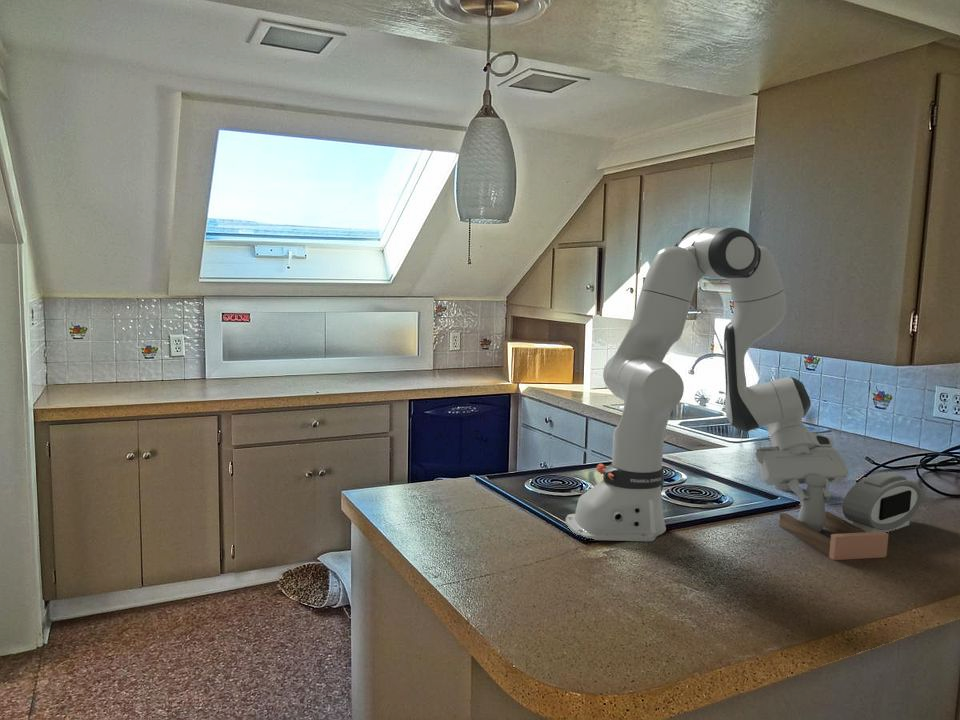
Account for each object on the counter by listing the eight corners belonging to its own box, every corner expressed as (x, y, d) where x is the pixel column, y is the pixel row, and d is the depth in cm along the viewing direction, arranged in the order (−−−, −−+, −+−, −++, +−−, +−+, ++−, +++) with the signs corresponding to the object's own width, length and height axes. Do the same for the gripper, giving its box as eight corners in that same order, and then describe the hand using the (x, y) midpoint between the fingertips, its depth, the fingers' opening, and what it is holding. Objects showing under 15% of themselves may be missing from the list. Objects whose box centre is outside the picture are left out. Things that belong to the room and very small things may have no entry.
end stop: (833, 560, 152) (835, 536, 151) (829, 557, 153) (831, 534, 152) (886, 557, 154) (888, 534, 153) (881, 554, 155) (883, 531, 155)
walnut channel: (829, 557, 153) (830, 543, 153) (779, 526, 171) (780, 513, 170) (881, 554, 155) (882, 540, 155) (826, 523, 173) (827, 511, 172)
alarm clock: (866, 542, 162) (872, 486, 160) (839, 533, 167) (844, 478, 165) (920, 523, 174) (926, 471, 173) (893, 515, 179) (899, 464, 178)
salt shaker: (827, 535, 165) (832, 479, 164) (800, 533, 166) (805, 477, 165) (821, 526, 171) (826, 471, 169) (794, 524, 172) (799, 469, 170)
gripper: (758, 440, 171) (779, 494, 163) (838, 438, 175) (862, 491, 166) (747, 454, 176) (767, 507, 168) (824, 451, 180) (847, 503, 171)
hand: (815, 499), depth 167 cm, fingers open, 4 cm apart
